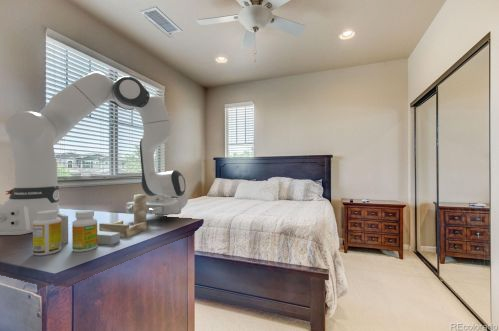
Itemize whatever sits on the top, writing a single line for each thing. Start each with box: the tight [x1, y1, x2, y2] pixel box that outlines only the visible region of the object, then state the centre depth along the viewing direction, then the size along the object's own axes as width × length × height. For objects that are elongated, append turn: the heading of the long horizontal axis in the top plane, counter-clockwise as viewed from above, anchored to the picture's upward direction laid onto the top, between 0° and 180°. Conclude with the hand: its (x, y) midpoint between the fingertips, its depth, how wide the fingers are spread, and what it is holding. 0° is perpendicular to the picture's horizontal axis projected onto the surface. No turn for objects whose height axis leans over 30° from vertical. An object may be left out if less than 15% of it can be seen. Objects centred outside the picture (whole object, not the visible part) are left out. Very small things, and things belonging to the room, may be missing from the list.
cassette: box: [57, 212, 69, 245], centre depth 72 cm, size 12×2×8 cm, turn 54°
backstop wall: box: [97, 230, 121, 246], centre depth 70 cm, size 3×12×2 cm, turn 76°
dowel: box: [133, 193, 147, 225], centre depth 88 cm, size 4×4×11 cm
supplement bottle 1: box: [32, 210, 63, 257], centre depth 62 cm, size 6×6×10 cm
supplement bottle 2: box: [71, 209, 98, 253], centre depth 64 cm, size 5×5×10 cm
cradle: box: [98, 220, 147, 238], centre depth 80 cm, size 9×10×4 cm
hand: (139, 210), depth 87 cm, fingers open, 8 cm apart
